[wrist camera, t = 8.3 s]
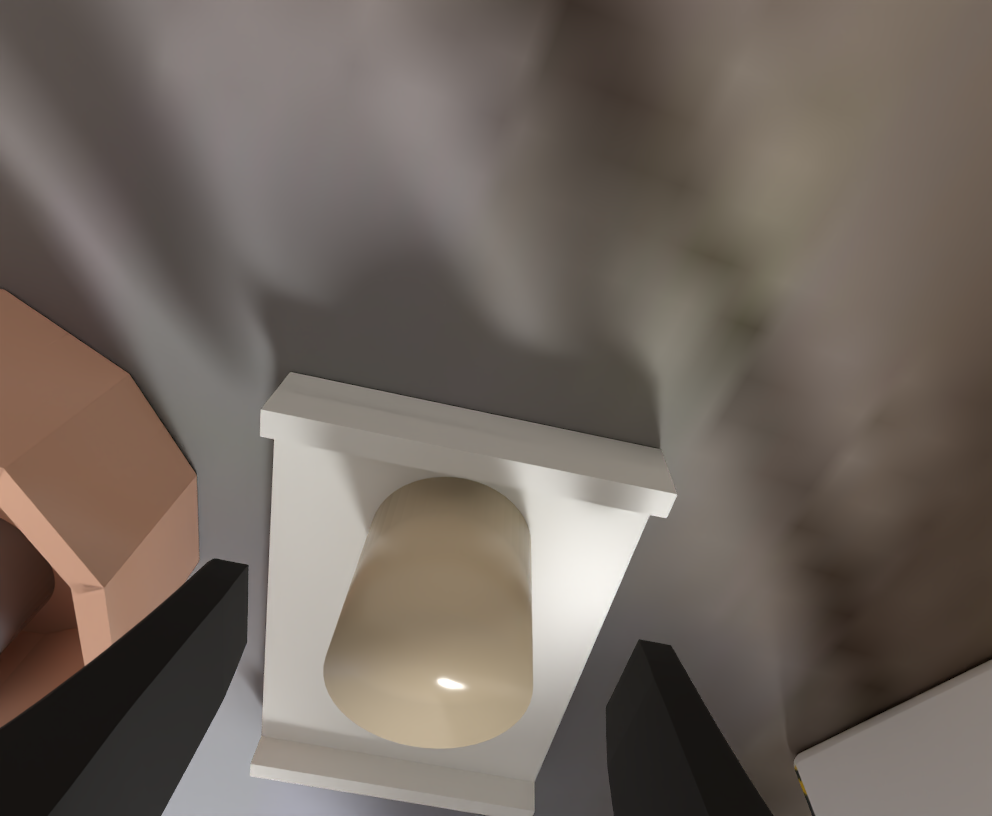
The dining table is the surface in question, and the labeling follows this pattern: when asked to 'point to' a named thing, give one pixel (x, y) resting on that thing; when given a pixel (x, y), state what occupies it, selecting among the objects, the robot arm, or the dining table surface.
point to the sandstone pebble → (437, 618)
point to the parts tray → (339, 542)
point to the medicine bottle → (910, 757)
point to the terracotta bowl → (84, 500)
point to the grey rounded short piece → (20, 582)
